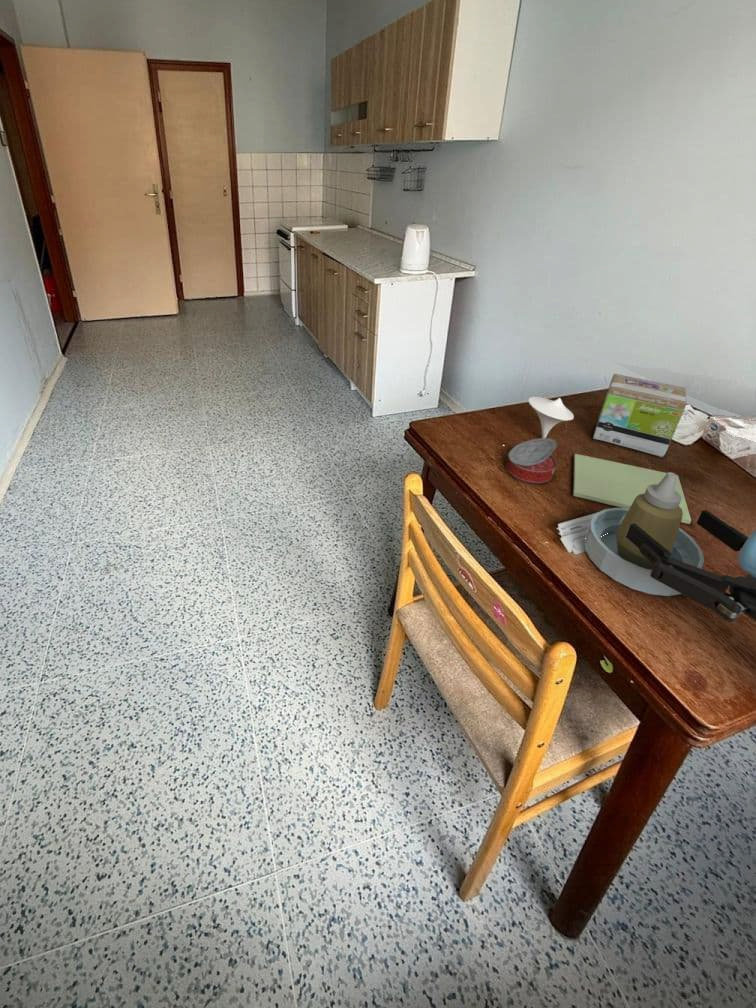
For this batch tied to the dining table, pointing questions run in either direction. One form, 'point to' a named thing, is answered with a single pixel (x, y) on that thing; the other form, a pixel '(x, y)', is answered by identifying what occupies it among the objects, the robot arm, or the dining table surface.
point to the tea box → (640, 414)
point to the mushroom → (550, 412)
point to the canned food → (532, 460)
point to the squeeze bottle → (652, 520)
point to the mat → (617, 482)
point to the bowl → (624, 571)
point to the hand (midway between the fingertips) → (666, 523)
